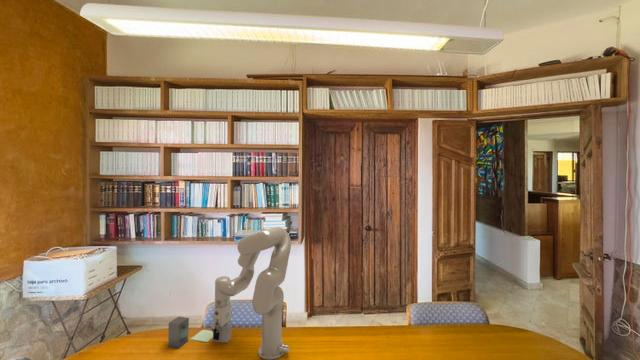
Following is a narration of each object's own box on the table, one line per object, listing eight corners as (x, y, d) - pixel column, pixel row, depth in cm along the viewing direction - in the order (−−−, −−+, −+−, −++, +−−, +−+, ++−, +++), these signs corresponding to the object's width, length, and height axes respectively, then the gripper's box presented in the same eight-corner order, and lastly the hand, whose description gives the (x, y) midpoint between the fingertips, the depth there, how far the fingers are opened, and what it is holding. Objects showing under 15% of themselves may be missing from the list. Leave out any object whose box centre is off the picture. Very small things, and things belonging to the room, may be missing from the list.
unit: (188, 341, 148) (189, 318, 148) (179, 349, 141) (179, 324, 141) (178, 339, 149) (178, 316, 150) (167, 347, 143) (168, 322, 143)
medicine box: (231, 338, 151) (231, 321, 151) (227, 343, 147) (227, 326, 147) (216, 337, 152) (216, 321, 152) (212, 342, 147) (212, 325, 147)
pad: (218, 332, 157) (218, 332, 157) (207, 342, 147) (207, 341, 147) (202, 330, 159) (202, 329, 159) (190, 339, 149) (190, 339, 149)
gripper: (218, 309, 140) (218, 344, 140) (237, 296, 157) (237, 327, 157) (205, 307, 142) (204, 342, 142) (225, 294, 159) (224, 325, 159)
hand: (221, 334), depth 149 cm, fingers open, 9 cm apart
